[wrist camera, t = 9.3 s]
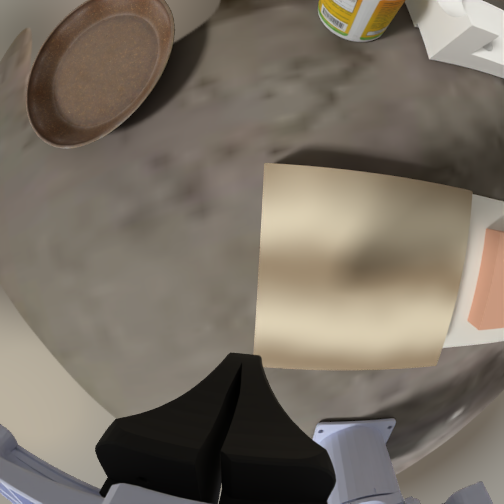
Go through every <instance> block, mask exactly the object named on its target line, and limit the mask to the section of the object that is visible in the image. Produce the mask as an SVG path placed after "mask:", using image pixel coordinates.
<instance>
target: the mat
mask: <svg viewBox="0 0 504 504" xmlns="http://www.w3.org/2000/svg"><path fill="white" fill-rule="evenodd" d="M486 228H488V229H494V230H499V231H504V202H503V201H499V200H496V199H492V198H487V197H483V196H479V195H475V194H472V206H471V217H470V226H469V234H468V242H467V248H466V255H465V260H464V266H463V271H462V276H461V281H460V286H459V290H458V295H457V299H456V303H455V307H454V311H453V314H452V318H451V322H450V325H449V328H448V332H447V335H446V338H445V341H444V344H443V347H442V348H446V347H457V346H467V345H476V344H485V343H492V342H499V341H504V328H498V329H488V330H478V329H477V328H475V327H474V326H473V325H472V324H470V323H469V322H468V321H467V320H468V316H469V312H470V309H471V305H472V301H473V297H474V293H475V289H476V284H477V280H478V275H479V270H480V265H481V259H482V253H483V247H484V240H485V233H486Z"/></svg>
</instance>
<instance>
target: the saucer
mask: <svg viewBox="0 0 504 504" xmlns="http://www.w3.org/2000/svg"><path fill="white" fill-rule="evenodd" d="M174 33H175V29H174V19H173V15H172V12H171V10H170V8H169V6H168V5H167V3H166V2H165V1H164V0H87V1H86V2H84V3H83V4H81V5H80V6H78V7H77V8H75V9H74V10H73V11H71V12H70V13H69V14H68V15H67V16H66V17H65V18H64V19H63V20H62V21H61V22H60V23H59V24H58V25H57V26H56V27H55V28H54V29H53V31H52V32H51V33H50V35H49V36H48V37H47V39H46V40H45V42H44V43H43V45H42V46H41V48H40V50H39V52H38V54H37V56H36V58H35V60H34V63H33V65H32V68H31V71H30V74H29V78H28V83H27V90H26V108H27V114H28V118H29V121H30V124H31V126H32V128H33V129H34V131H35V133H36V134H37V135H38V136H39V137H40V138H41V139H42V140H43V141H44V142H46V143H47V144H49V145H51V146H54V147H57V148H76V147H81V146H84V145H87V144H90V143H92V142H95V141H97V140H99V139H100V138H102V137H104V136H106V135H107V134H109V133H110V132H112V131H113V130H115V129H116V128H117V127H119V126H120V125H121V124H122V123H123V122H124V121H125V120H126V119H128V118H129V117H130V116H131V115H132V114H133V113H134V112H135V111H136V110H137V109H138V107H139V106H140V105H141V104H142V103H143V102H144V100H145V99H146V98H147V97H148V95H149V94H150V93H151V91H152V90H153V88H154V87H155V85H156V84H157V82H158V80H159V79H160V77H161V75H162V73H163V71H164V69H165V67H166V64H167V62H168V59H169V57H170V53H171V50H172V46H173V41H174Z"/></svg>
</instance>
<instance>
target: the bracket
mask: <svg viewBox="0 0 504 504" xmlns="http://www.w3.org/2000/svg"><path fill="white" fill-rule="evenodd" d="M405 4H406V6H407V9H408V11H409V14H410V16H411V19H412V21H413V24H414V27H418V28H419V29H420V32H421V35H422V38H423V41H424V44H425V47H426V50H427V53H428V57H429V59H431V60H436V61H441V62H446V63H450V64H455V65H459V66H463V67H467V68H471V69H475V70H478V71H482V72H485V73H488V74H492V75H495V76H498V77H501V78H504V10H502V9H499V8H497V7H495V6H493V5H491V4H489V3H487V2H484V1H482V0H405Z"/></svg>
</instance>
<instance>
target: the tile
mask: <svg viewBox="0 0 504 504" xmlns="http://www.w3.org/2000/svg"><path fill="white" fill-rule="evenodd" d="M467 321H468V322H469V323H470V324H472V325H473V326H474V327H475V328H477V329H478V330H488V329H498V328H504V231H499V230H494V229H488V228H486V233H485V240H484V247H483V253H482V259H481V265H480V270H479V275H478V280H477V284H476V289H475V293H474V297H473V301H472V305H471V309H470V312H469V316H468V320H467Z"/></svg>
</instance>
